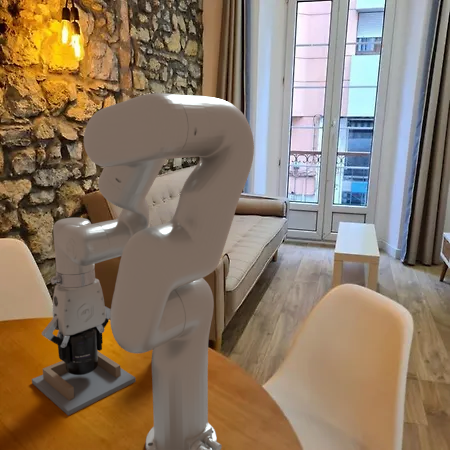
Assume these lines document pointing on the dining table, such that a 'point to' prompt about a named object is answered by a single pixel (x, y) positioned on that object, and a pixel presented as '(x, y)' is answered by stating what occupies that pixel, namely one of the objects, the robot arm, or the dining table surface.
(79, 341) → the supplement bottle
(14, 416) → the dining table surface
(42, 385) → the bottle stand
